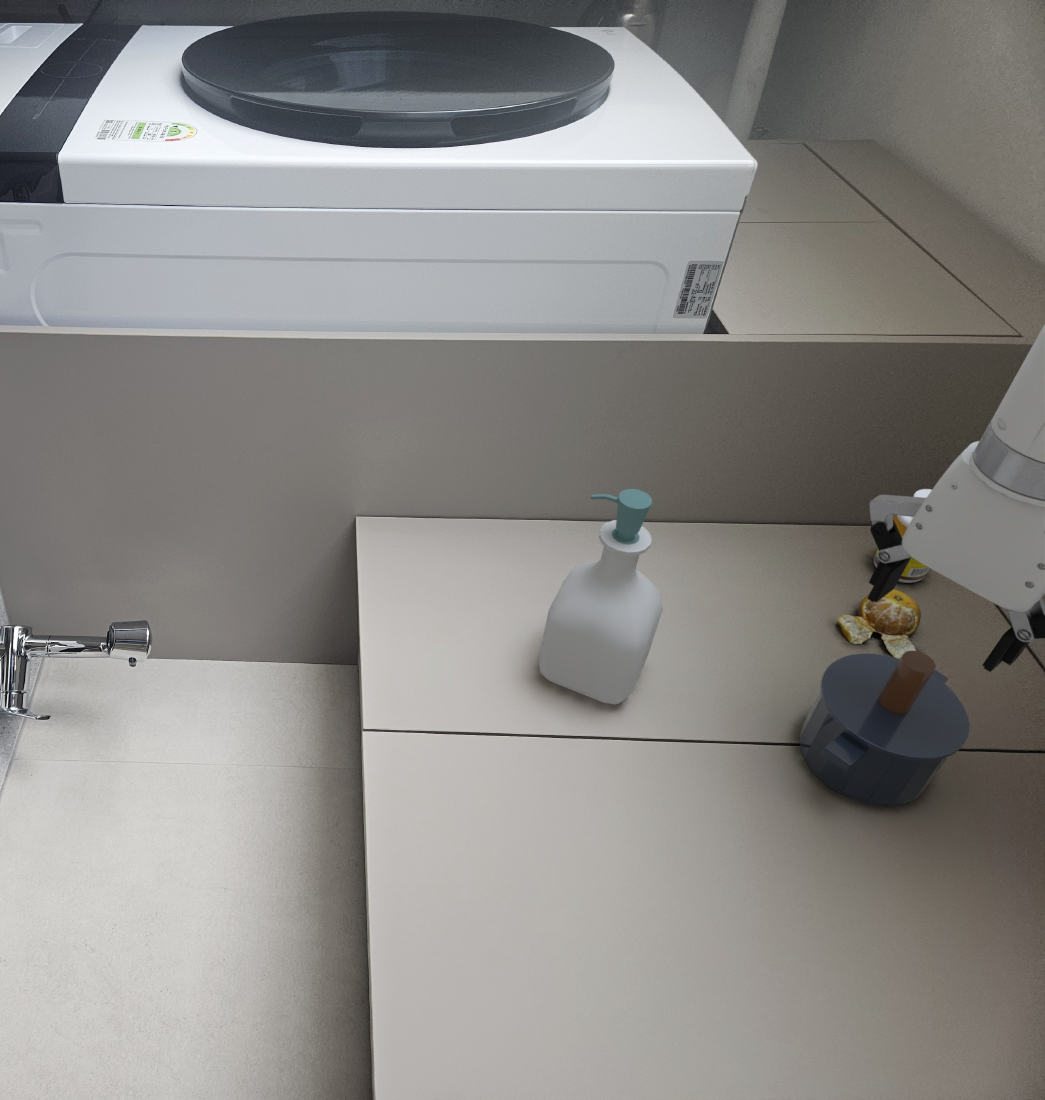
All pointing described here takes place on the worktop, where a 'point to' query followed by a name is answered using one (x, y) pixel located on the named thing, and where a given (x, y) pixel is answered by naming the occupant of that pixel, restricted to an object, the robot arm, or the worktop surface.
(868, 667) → the lid
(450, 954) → the worktop surface
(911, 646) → the fruit
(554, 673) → the soap bottle
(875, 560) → the supplement bottle
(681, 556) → the worktop surface
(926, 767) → the pot
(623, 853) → the worktop surface
